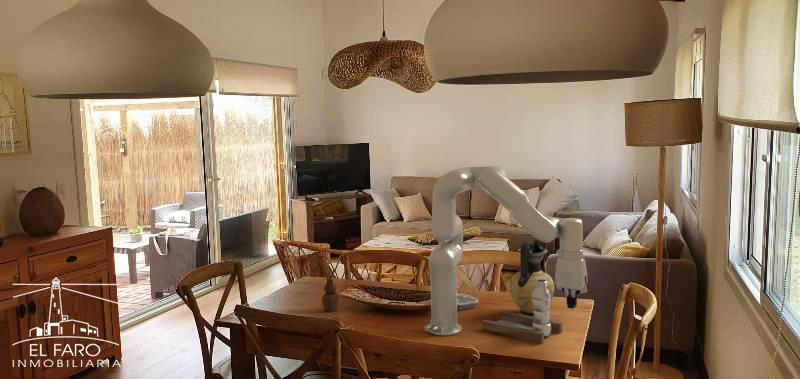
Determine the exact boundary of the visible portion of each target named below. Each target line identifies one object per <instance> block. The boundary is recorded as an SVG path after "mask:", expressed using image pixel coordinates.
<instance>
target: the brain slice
mask: <svg viewBox="0 0 800 379" xmlns="http://www.w3.org/2000/svg"><path fill="white" fill-rule="evenodd" d="M479 302H480V301H479V298H478V297H476V296H472V295H470V294H469V295H468V294H464V293H458V292H457V311H465V310H472V309H474V308H476V307H477V306H478V304H479Z"/></svg>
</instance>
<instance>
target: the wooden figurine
mask: <svg viewBox="0 0 800 379" xmlns="http://www.w3.org/2000/svg"><path fill="white" fill-rule="evenodd" d="M323 291H324V292H325V293H324V294H323V295H322V298H321V304H322V307H323V309H324V311H325V312H329V313H330V312H335V311H337V310H338V307H339V304H340V297H339V296H340V295H339V294H338V293H337V292H336V291H337V285H336V284H335V283H334V281H333V279H332V278H331V276H330V275H326V283H325V285H324V288H323Z"/></svg>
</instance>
